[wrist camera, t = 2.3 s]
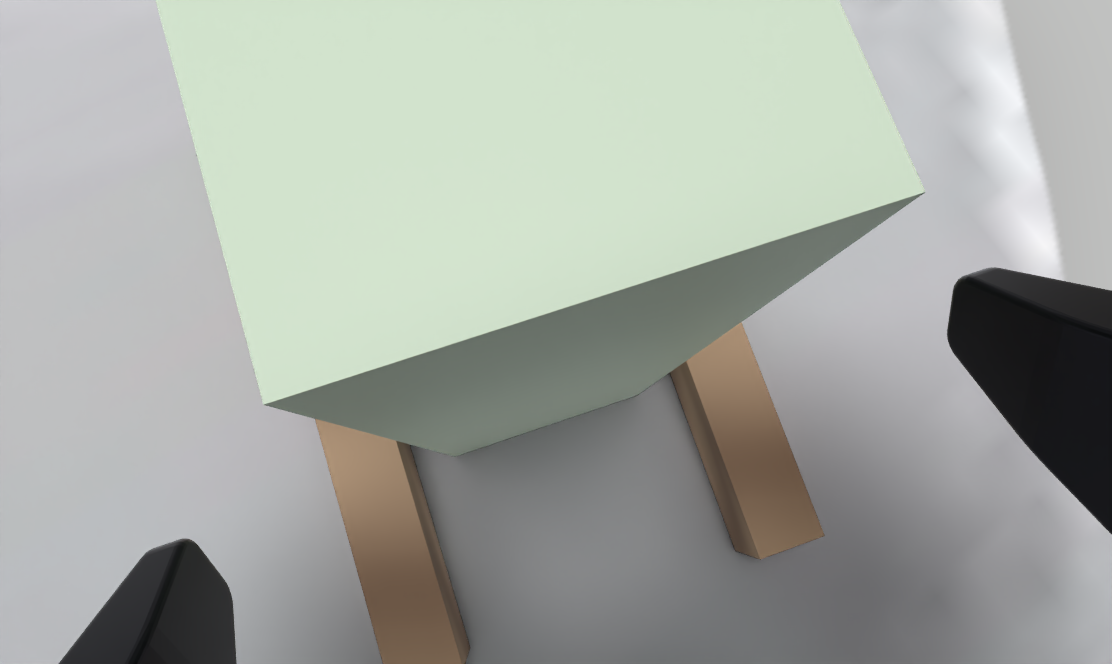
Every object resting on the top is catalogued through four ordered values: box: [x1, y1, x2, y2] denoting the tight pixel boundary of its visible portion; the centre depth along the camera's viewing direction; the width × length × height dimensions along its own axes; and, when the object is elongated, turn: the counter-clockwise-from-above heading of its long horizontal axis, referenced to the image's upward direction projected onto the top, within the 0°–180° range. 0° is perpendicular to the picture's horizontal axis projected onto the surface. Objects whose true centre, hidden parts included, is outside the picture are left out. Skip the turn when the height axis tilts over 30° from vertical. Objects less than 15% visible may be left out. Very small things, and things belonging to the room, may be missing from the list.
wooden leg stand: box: [315, 323, 825, 664], centre depth 18 cm, size 16×10×2 cm, turn 19°
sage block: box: [156, 0, 925, 457], centre depth 12 cm, size 5×5×14 cm
